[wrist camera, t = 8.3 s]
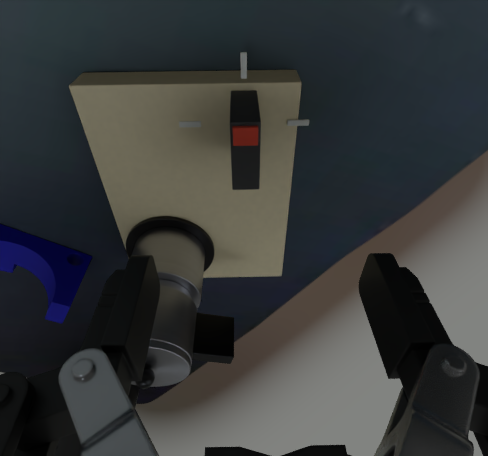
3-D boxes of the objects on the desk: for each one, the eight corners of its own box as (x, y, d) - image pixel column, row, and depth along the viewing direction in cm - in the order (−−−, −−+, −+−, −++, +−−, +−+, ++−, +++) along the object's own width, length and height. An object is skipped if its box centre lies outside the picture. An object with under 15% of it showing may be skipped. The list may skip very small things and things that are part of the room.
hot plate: (286, 257, 34) (289, 277, 32) (141, 259, 34) (135, 280, 32) (310, 40, 21) (318, 51, 19) (73, 43, 21) (55, 55, 19)
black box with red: (256, 152, 23) (259, 192, 19) (232, 152, 23) (232, 192, 19) (257, 89, 20) (261, 123, 17) (230, 90, 20) (229, 124, 17)
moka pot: (225, 283, 32) (222, 412, 23) (133, 269, 30) (93, 402, 22) (241, 239, 28) (243, 375, 19) (136, 220, 26) (89, 359, 18)
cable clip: (-51, 239, 31) (-98, 290, 27) (-48, 206, 29) (-100, 257, 24) (80, 281, 36) (58, 331, 31) (92, 256, 33) (69, 307, 29)
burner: (216, 276, 32) (216, 279, 32) (137, 277, 32) (136, 281, 31) (211, 215, 27) (211, 218, 26) (116, 216, 27) (115, 219, 26)
